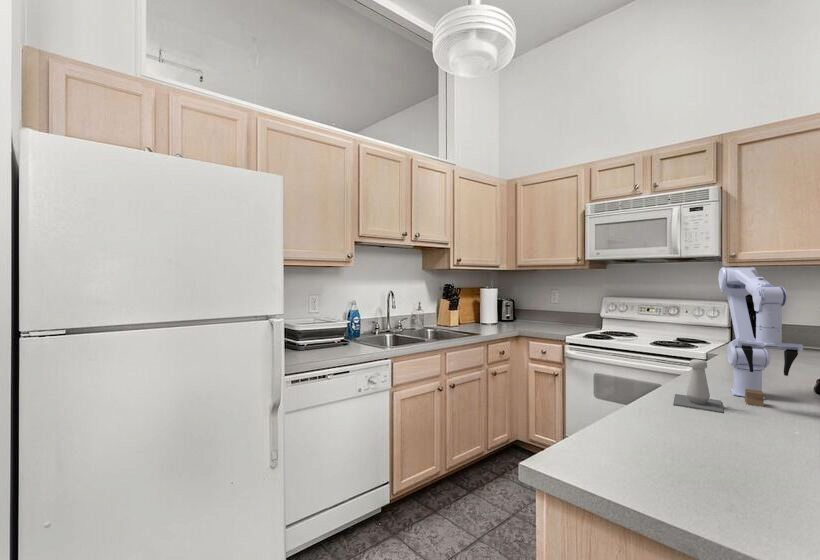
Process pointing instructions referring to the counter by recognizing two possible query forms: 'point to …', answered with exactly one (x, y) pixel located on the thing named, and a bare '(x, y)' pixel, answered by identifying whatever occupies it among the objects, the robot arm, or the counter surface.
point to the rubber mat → (709, 406)
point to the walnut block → (754, 397)
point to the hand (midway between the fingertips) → (768, 373)
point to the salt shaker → (698, 383)
